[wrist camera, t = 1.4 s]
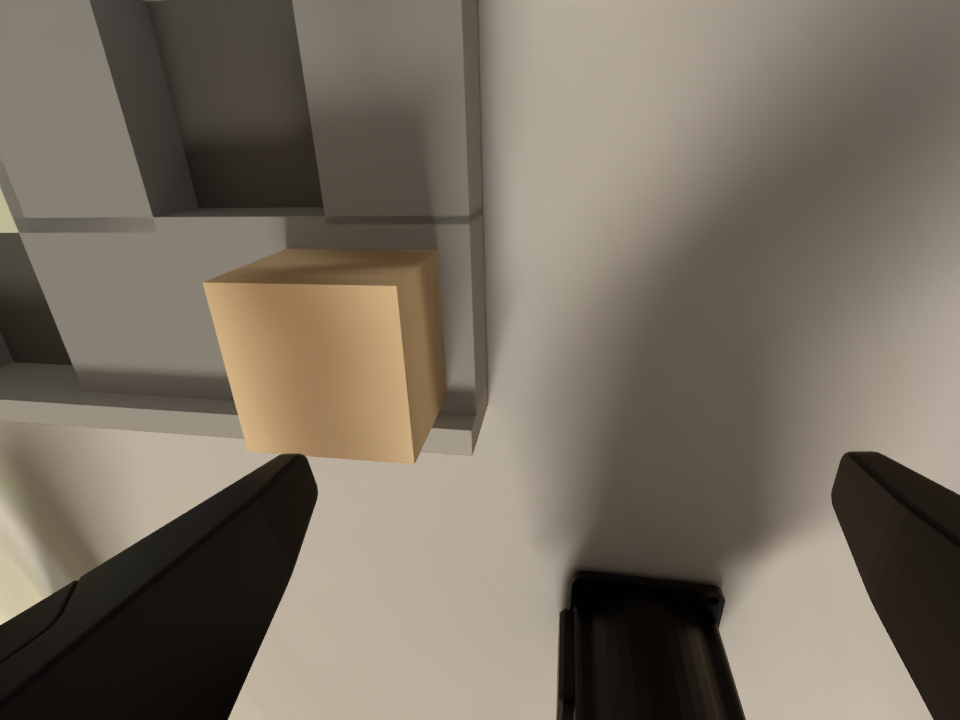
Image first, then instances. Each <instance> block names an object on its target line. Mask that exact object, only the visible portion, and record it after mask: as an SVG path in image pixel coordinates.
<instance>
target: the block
mask: <svg viewBox="0 0 960 720" xmlns="http://www.w3.org/2000/svg"><path fill="white" fill-rule="evenodd" d="M203 286H204V290H205V293H206V297H207V301H208V305H209V308H210V312H211V316H212V320H213V323H214V327H215V331H216V335H217V338H218V342H219V346H220V350H221V353H222V357H223V361H224V365H225V368H226V372H227V376H228V380H229V383H230V387H231V391H232V395H233V398H234V402H235V406H236V409H237V413H238V417H239V421H240V424H241V428H242V432H243V436H244V439H245V443H246V447H247V451H252V452H264V453H277V454H286V453H300V454H303V455H305V456H315V457H328V458H340V459H353V460H366V461H378V462H391V463H404V464H415V462H416V460H417V458H418V456H419V454H420V452H421V449H422V447H423V445H424V443H425V441H426V439H427V437H428V435H429V432H430V430H431V428H432V426H433V424H434V422H435V420H436V418H437V415H438V413H439V411H440V409H441V407H442V405H443V403H444V401H445V398H446V396H447V383H446V367H445V352H444V336H443V320H442V304H441V288H440V273H439V257H438V250H402V249H284V250H282V251H279V252H277V253H274V254H272V255H270V256H267V257H265V258H262V259H260V260H257V261H255V262H252V263H250V264H247V265H245V266H242V267H240V268H237V269H235V270H232V271H230V272H227V273H225V274H222V275H220V276H217V277H215V278H212V279H210V280H207V281H205V282H203Z"/></svg>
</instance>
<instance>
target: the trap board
mask: <svg viewBox="0 0 960 720" xmlns="http://www.w3.org/2000/svg"><path fill="white" fill-rule="evenodd" d="M284 249H402V250H438V257H439V273H440V288H441V304H442V320H443V336H444V352H445V367H446V383H447V396H446V398H445V401H444V403H443V405H442V407H441V409H440V411H439V413H438V415H437V418H436V420H435V422H434V424H433V426H432V428H431V430H430V432H429V435H428V437H427V439H426V441H425V443H424V445H423V447H422V449H421V452H427V453H440V454H453V455H467V456H472V455H473V452H474V449H475V445H476V442H477V439H478V435H479V432H480V429H481V426H482V422H483V419H484V416H485V412H486V409H487V406H488V395H487V355H486V315H485V275H484V235H483V195H482V155H481V115H480V75H479V35H478V0H0V421H11V422H24V423H38V424H51V425H64V426H78V427H91V428H105V429H118V430H132V431H145V432H158V433H172V434H185V435H199V436H212V437H225V438H239V439H244V436H243V432H242V428H241V424H240V421H239V417H238V413H237V409H236V406H235V402H234V398H233V395H232V391H231V387H230V383H229V380H228V376H227V372H226V368H225V365H224V361H223V357H222V353H221V350H220V346H219V342H218V338H217V335H216V331H215V327H214V323H213V320H212V316H211V312H210V308H209V305H208V301H207V297H206V293H205V290H204V286H203V282H205V281H207V280H210V279H212V278H215V277H217V276H220V275H222V274H225V273H227V272H230V271H232V270H235V269H237V268H240V267H242V266H245V265H247V264H250V263H252V262H255V261H257V260H260V259H262V258H265V257H267V256H270V255H272V254H274V253H277V252H279V251H282V250H284Z"/></svg>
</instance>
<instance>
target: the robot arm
mask: <svg viewBox="0 0 960 720" xmlns="http://www.w3.org/2000/svg"><path fill="white" fill-rule="evenodd" d="M317 496H318V489H317V484H316V481H315V479H314V476H313V473H312V470H311V468H310V465H309V462H308V460H307V458H306V457H305V455H303V454H300V453H286V454H281V455H279V456H277V457H276V458H274V459H272V460H271V461H269V462H267V463H266V464H264V465H263V466H261V467H259V468H258V469H256V470H254V471H253V472H251V473H249V474H248V475H246V476H245V477H243V478H241V479H240V480H238V481H236V482H235V483H233V484H232V485H230V486H228V487H227V488H225V489H223V490H222V491H220V492H218V493H217V494H215V495H214V496H212V497H210V498H209V499H207V500H205V501H204V502H202V503H201V504H199V505H197V506H196V507H194V508H192V509H191V510H189V511H188V512H186V513H184V514H183V515H181V516H179V517H178V518H176V519H174V520H173V521H171V522H170V523H168V524H166V525H165V526H163V527H161V528H160V529H158V530H157V531H155V532H153V533H152V534H150V535H148V536H147V537H145V538H143V539H142V540H140V541H139V542H137V543H135V544H134V545H132V546H130V547H129V548H127V549H126V550H124V551H122V552H121V553H119V554H117V555H116V556H114V557H112V558H111V559H109V560H108V561H106V562H104V563H103V564H101V565H99V566H98V567H96V568H95V569H93V570H91V571H90V572H88V573H86V574H85V575H83V576H82V577H80V579H79V581H73V582H71V583H70V584H68V585H67V586H65V587H63V588H62V589H60V590H58V591H57V592H55V593H54V594H52V595H50V596H49V597H47V598H45V599H44V600H42V601H40V602H39V603H37V604H35V605H34V606H32V607H30V608H29V609H27V610H25V611H24V612H22V613H20V614H19V615H17V616H15V617H14V618H12V619H10V620H9V621H7V622H5V623H3V624H2V625H0V720H228V718H229V716H230V713H231V711H232V709H233V707H234V704H235V702H236V700H237V698H238V695H239V693H240V691H241V689H242V686H243V684H244V682H245V680H246V677H247V675H248V673H249V671H250V668H251V666H252V664H253V662H254V659H255V657H256V655H257V653H258V650H259V648H260V646H261V644H262V641H263V639H264V637H265V635H266V632H267V630H268V628H269V626H270V623H271V621H272V619H273V617H274V614H275V612H276V610H277V608H278V605H279V603H280V601H281V599H282V596H283V594H284V592H285V590H286V587H287V585H288V583H289V580H290V578H291V575H292V573H293V570H294V567H295V564H296V562H297V559H298V556H299V553H300V550H301V546H302V543H303V540H304V537H305V534H306V531H307V528H308V525H309V522H310V519H311V516H312V513H313V510H314V507H315V504H316V501H317ZM831 499H832V505H833V508H834V511H835V513H836V516H837V518H838V521H839V523H840V526H841V528H842V531H843V533H844V536H845V538H846V541H847V543H848V546H849V548H850V551H851V553H852V556H853V558H854V561H855V563H856V566H857V568H858V571H859V573H860V576H861V578H862V581H863V583H864V586H865V588H866V590H867V592H868V595H869V597H870V599H871V602H872V604H873V606H874V608H875V610H876V612H877V614H878V616H879V618H880V620H881V621H882V623H883V625H884V627H885V629H886V631H887V633H888V635H889V636H890V638H891V640H892V642H893V644H894V646H895V648H896V650H897V652H898V653H899V655H900V657H901V659H902V661H903V663H904V665H905V667H906V668H907V670H908V672H909V674H910V676H911V678H912V680H913V682H914V683H915V685H916V687H917V689H918V691H919V693H920V695H921V697H922V699H923V700H924V702H925V704H926V706H927V708H928V710H929V712H930V714H931V715H932V717H933V719H934V720H960V495H959V494H957V493H955V492H953V491H951V490H949V489H947V488H945V487H943V486H942V485H940V484H938V483H936V482H934V481H932V480H930V479H928V478H926V477H924V476H922V475H921V474H919V473H917V472H915V471H913V470H911V469H909V468H907V467H905V466H903V465H902V464H900V463H898V462H896V461H894V460H892V459H890V458H888V457H886V456H884V455H882V454H880V453H878V452H871V451H868V452H847V453H845V454H844V455H843V456H842V458H841V460H840V464H839V467H838V471H837V474H836V478H835V481H834V485H833V488H832V493H831ZM580 582H585V583H580ZM724 604H725V598H724V595H723V592H722V590H721V589H720V588H719V587H717V586H714V585H707V584H698V583H689V582H680V581H670V580H661V579H652V578H643V577H634V576H624V575H615V574H606V573H597V572H588V571H578V572H576V573H574V574H573V576H572V583H571V598H570V609H566V608H564V609H563V610H562V611H561V612H560V619H559V637H558V668H557V712H556V720H746V719H745V716H744V712H743V709H742V706H741V702H740V699H739V696H738V692H737V689H736V686H735V682H734V679H733V676H732V672H731V669H730V666H729V662H728V659H727V656H726V652H725V649H724V646H723V642H722V639H721V636H720V633H719V629H718V628H719V624H720V620H721V616H722V612H723V608H724Z"/></svg>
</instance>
